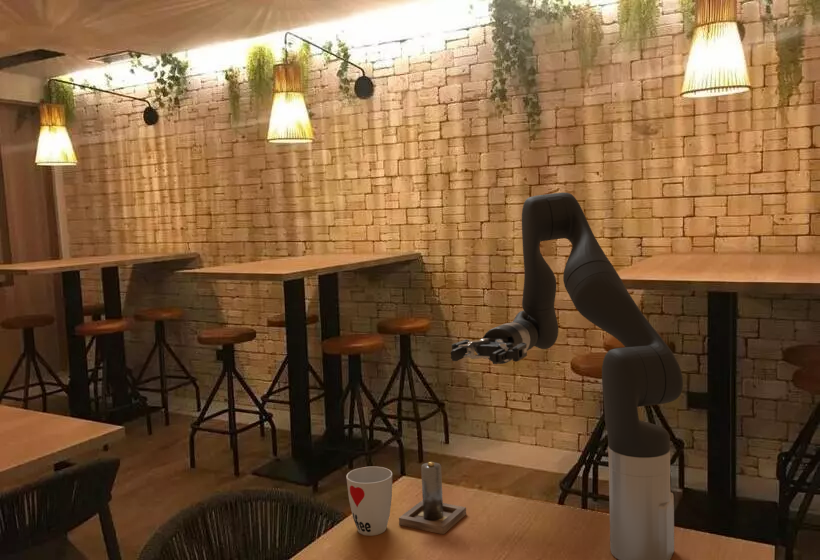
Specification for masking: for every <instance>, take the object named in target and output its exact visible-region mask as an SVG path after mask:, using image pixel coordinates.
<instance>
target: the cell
mask: <svg viewBox="0 0 820 560" xmlns="http://www.w3.org/2000/svg"><path fill="white" fill-rule="evenodd" d="M420 467H421V469H420V471H421V491H422V492H421V493H422V500H423V517H424V518H425V519H427V520H439V519H441V518H442V517H443V503H444V501H443V500H444V499H443V480H442V479H443V477H442V465H441V464H440V463H439V462H434V461H428V462H425V463H423V464H422V465H420Z"/></svg>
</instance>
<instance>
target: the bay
mask: <svg viewBox="0 0 820 560" xmlns="http://www.w3.org/2000/svg"><path fill="white" fill-rule="evenodd" d="M466 515H467V507H466V506H460V505H456V504H451V503H446V502H443V517H442V518H441V519H439V520H427V519H425V518H424V517H423V499H422V500H420V501H419V502H418V503H416V504H415V505H414V506H412V507H411V508H410V509H409V510H407V511H406V512H404V513H403V514H402V515H400V516H399V517H398V525H399V526H403V527H408V528H412V529H416V530H422V531H426V532H431V533H434V534H435V533H436V534H440V535H445V534H446V533H447V532H448V531H449V530H450V529H451V528H453V527H454V526H455V525H456V524H457V523H459V522H460V521H461V519H463V518H464V517H465V516H466Z"/></svg>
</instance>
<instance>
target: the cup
mask: <svg viewBox="0 0 820 560" xmlns="http://www.w3.org/2000/svg"><path fill="white" fill-rule="evenodd" d="M345 476H346V485H347V494H348V502H349V506H350V509H351V515H352V518H353V522H354V525H355V526H356V529H357V532H358V533H359V534H360V535H362V536H377V535H380V534H383V533H384V532H385V531H386V529H387V527H388V523H389V520H390V516H391V515H390V514H391V506H392V499H393V472H392V470H390V469H388V468H387V467H383V466H365V467H359V468H355V469H352V470H350V471H348V473H347V474H346V475H345Z"/></svg>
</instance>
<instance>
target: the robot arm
mask: <svg viewBox="0 0 820 560" xmlns="http://www.w3.org/2000/svg"><path fill="white" fill-rule="evenodd" d="M521 210H522V212H521V234H522V235H521V236H522V238H521V239H522V256H523V269H524V279H523V288H522V289H523V291H522V292H523V293H522V299H521V307H522V310H521V311H519V312H518V313H517V314H516V315H515V317H514V319H513V321H512V322H506V323H503V324H500V325H498V326H496V327H492V328H490V329H488V330H487V332H486V333H485V334H484V335H483V337H482V338H480V340H479V339H478V340H469V339H463V340H461V341H458V342H454V343H452V344H451V351H450V359H451V361H453V362H458V361H460V360H462V359H466V358H469V359H472V360H475V359H476V360H477V359H478V360H479V359H486V360H489V361H490V362H492V364H493V365H505V364H506V363H509V362H511V361H513V362H515V363H516V362H519V361H521V360H523V359H524V358H525V357H527V356H528V353H527V352H528V351H529V350H531V349H533V347H536V348H537V349H541V350H547V349H550V348H551V347H553V346H554V345H555V343H556V342H557V339H558V336H559V324H558V319H557V313H556V309H555V301H556V294H557V287H558V286H557V278H556V275H555V273H554V271H553V270H552V268H551V267H550V265H549V264H548V262H547V261H546V260H545V258H544V256H543V255H542V253H541V249H540V245H541V244H540V243H541V242H546V241H554V240H560V239H562V240H563V239H566V240H568V241H569V242H570V244H571V250H570V253H569V256H568V258H567V260H566V264H565V266H564V270H563V279H562V280H563V285H564V287H565V290H566V292H567V294H568V296H569V298H570V300H571V301H572V303H573V306H574V307H575V309H576V310H577V311H578V313H579V314H580V315H581V317H582V316H583V318H585V319H586V320H588V322H590V323H592V324H593V325H594V326H596V327H598V328H600V330H602V331H604V332H606V333H607V334H609V335H610V336H612V337H613V338H615V339H616V340H617V341H618V342H620V344H621V345H623V346H624V347H616V348H612V349H609V350H608V351H607V352H606V353H605V356H604V357H603V361H602V366H601V381H602V382H601V384H602V393H603V404H604V405H603V406H604V407H603V408H604V409H603V410H604V422H605V428H606V429H605V430H606V434H607V446H608V448H607V449H608V491H609V492H608V494H609V497H608V499H609V502H608V503H609V504H608V505H609V542H610V543H609V546H610V553H611V554H612V556H613V557H614V558H615V559H617V560H671V559H672V557H673V554H674V552H675V501H674V500H675V499H674V493H673V492H671V489H672V488H671V439H670V438H671V436H670V433H669V432H668V430H666V429H665V428H664V427H663V426H661V425H658V424H654V423H652V422H647V421H644V420H640V417H639V411H638V410H639V408H638V407H646V406H656V405H663V404H664V405H665V404H668V403H669V404H670V403H671V402H674V401H676V400H677V399H679V398H680V396H681V394H682V393H683V387H684V379H683V373H682V370H681V367H680V364H679V362H678V360H677V358H676V355H674V352H673V351H672V350H671V348H670V347H669V345H668V344H667V343H666V342H665V341H664V339H663V338H662V336H661V335H660V334H659V332H657V331H656V329H655V328H654V327H653V325H652V324H651V323H650V322H649V320H648V319H647V318H646V316H645V315H644V314H643V312H642V311H641V309H640V308H639V306H638V305H637V304H636V302H635V301H634V299H633V298H632V296H631V294H630V293H629V291H628V290H627V287H626V285H625V283H624V282H623V280H622V278H621V277H620V275H619V274H618V272H617V270H616V268H615V267H614V265H613V264H612V263H611V261H610V260H609V258H608V257H607V254H606V253H605V252H604V250H603V249H602V247H601V246H600V245H601V244H600V243H599V241H598V240H597V238H596V236H595V235H594V233H593V231H592V229H591V225H590V223H589V221H588V219H587V217H586V215H585V213H584V211H583V209H582V207H581V205H580V203H579V201H578V200H577V198H576V197H575V196H574V195H573V194H571V193H570V192H554V193H545V194H539V195H533V196H529V197H527V198H526V199H525V201H524V202H523V205H522V209H521ZM475 353H476V354H475Z"/></svg>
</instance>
